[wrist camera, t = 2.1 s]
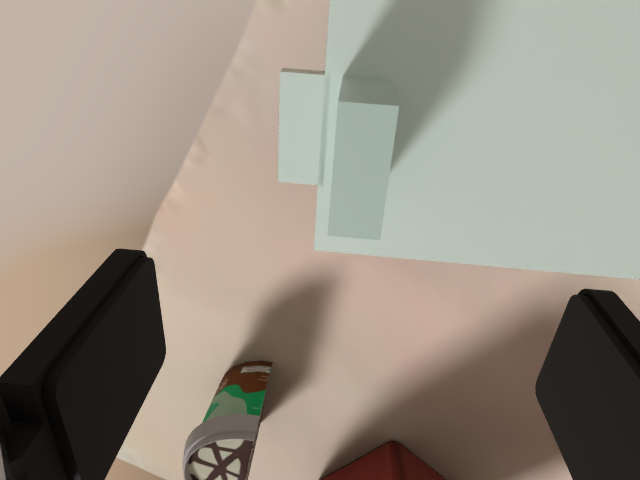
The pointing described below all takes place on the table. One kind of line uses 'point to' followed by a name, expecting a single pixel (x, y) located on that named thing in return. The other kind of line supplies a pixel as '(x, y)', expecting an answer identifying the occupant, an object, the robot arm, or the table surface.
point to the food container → (229, 426)
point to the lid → (473, 133)
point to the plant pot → (387, 466)
